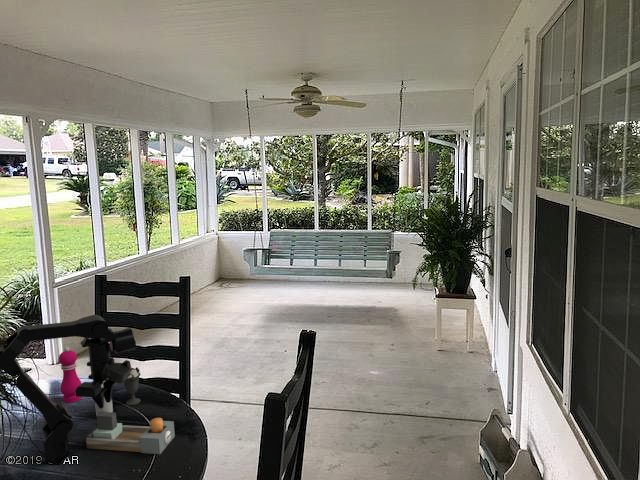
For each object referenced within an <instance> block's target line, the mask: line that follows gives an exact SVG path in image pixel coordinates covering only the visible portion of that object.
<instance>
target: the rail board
mask: <svg viewBox="0 0 640 480" xmlns="http://www.w3.org/2000/svg"><path fill="white" fill-rule="evenodd" d="M149 427H150V426H144V425H143V426H142V425H125V424H124V425H123V424H122V430H123V431H122V432H121V433H120V434H119V435H118V436H117V437H116V438H115V439H104V438H94V435H93V432H94V431H95V430H96V429H97V428H98V426H97V427H96V428H95V429H94V430H93V431H91V433H89V434H88V435H87V437H86V439H85V443H86V449H90V450H91V449H94V450H105V451H107V450H108V451H121V452H136V453H137V452H138V453H141V445H140V437H141V436H142V435H143V434H144V432H145V431H146V430H147V429H148V428H149Z"/></svg>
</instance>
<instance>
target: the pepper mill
mask: <svg viewBox="0 0 640 480" xmlns="http://www.w3.org/2000/svg"><path fill="white" fill-rule="evenodd" d="M77 360H78V356H77V353H76V352H75V351H74V350H71V349H70V347H69V346H65V347H64V348H63V351H62V352H61V353H60V354H59V355H58V363H59V364H60V367H61V370H62V374H63V375H62V380H61V384H60V394H62V402H64V403H67V404H68V403H69V404H70V403H75V402H79V401H80V400H81V399H82V398H83V397H76V394H75V389H76V388H77V387H78V386H79V385H81V384H82V383H83V382H82V381H81V379H80V377H79V376H78V373H77V372H76V371H77V369H76V367H77V362H76V361H77Z"/></svg>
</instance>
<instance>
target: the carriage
mask: <svg viewBox="0 0 640 480" xmlns="http://www.w3.org/2000/svg"><path fill="white" fill-rule="evenodd" d="M96 423H97V427H98V428H97V427H96V428H97V429H96V428H95V429H96V430H95V429H94V430H95V431H94V430H93V431H94V432H93V431H92V432H93V435H94V438H104V439H115V438H116V437H117V436H118V435H119V434H120V433H121V432H122V431H123V430H122V425H123V423H122V422H118V420H117V412H113V413H112V412H100V413H99V414H98V415H97V416H96Z"/></svg>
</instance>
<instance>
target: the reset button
mask: <svg viewBox="0 0 640 480" xmlns="http://www.w3.org/2000/svg"><path fill="white" fill-rule="evenodd" d="M163 421H164V420H163V418H162V417H154V418H152V419H151V420H149V423H150V425H149V427H150V426H151V433H160V434H161V432H162V431H163Z"/></svg>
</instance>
